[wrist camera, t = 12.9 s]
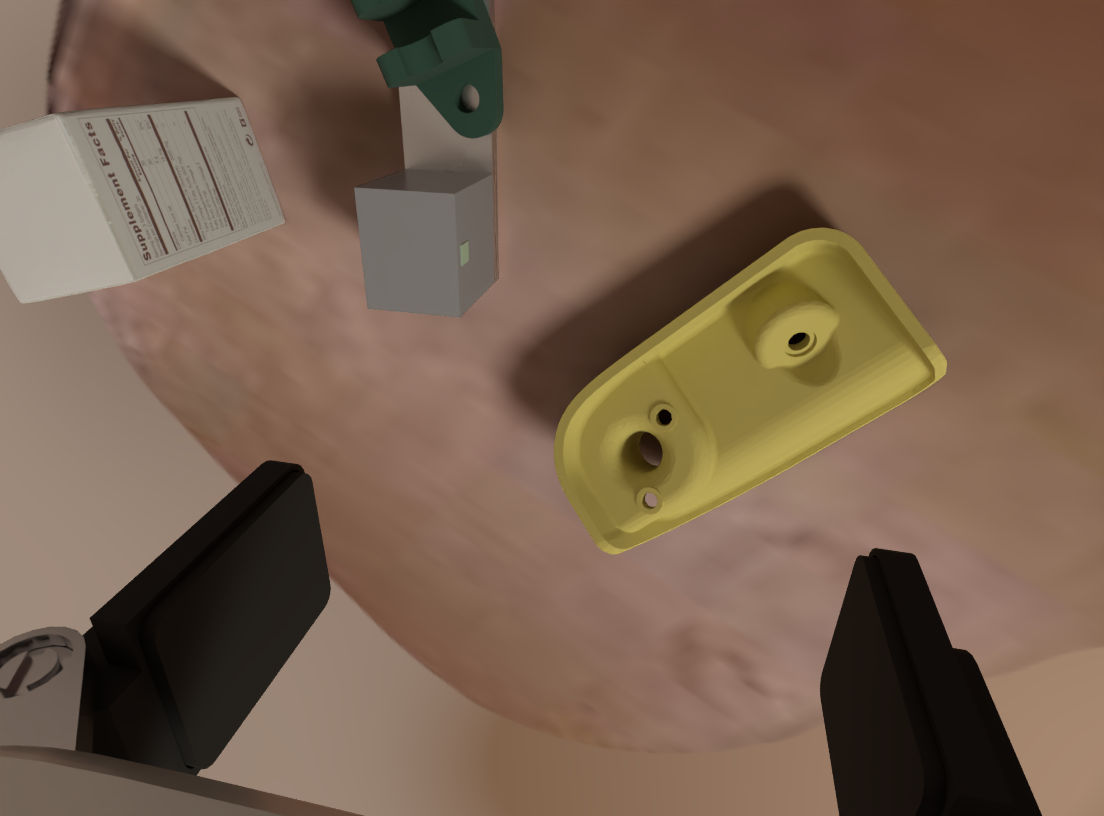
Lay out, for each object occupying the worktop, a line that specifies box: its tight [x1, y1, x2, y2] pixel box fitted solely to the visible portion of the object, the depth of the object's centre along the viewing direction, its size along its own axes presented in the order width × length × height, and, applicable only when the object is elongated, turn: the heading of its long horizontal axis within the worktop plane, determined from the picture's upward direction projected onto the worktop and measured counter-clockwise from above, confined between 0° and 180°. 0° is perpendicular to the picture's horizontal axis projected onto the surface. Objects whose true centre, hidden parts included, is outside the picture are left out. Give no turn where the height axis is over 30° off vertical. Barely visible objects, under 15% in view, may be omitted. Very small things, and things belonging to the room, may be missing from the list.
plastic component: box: [554, 228, 947, 554], centre depth 38 cm, size 20×7×10 cm
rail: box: [399, 0, 499, 282], centre depth 34 cm, size 5×26×1 cm, turn 179°
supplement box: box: [0, 97, 285, 303], centre depth 35 cm, size 7×7×13 cm
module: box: [354, 169, 495, 318], centre depth 35 cm, size 5×6×6 cm
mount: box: [351, 0, 503, 139], centre depth 31 cm, size 11×4×5 cm, turn 22°
